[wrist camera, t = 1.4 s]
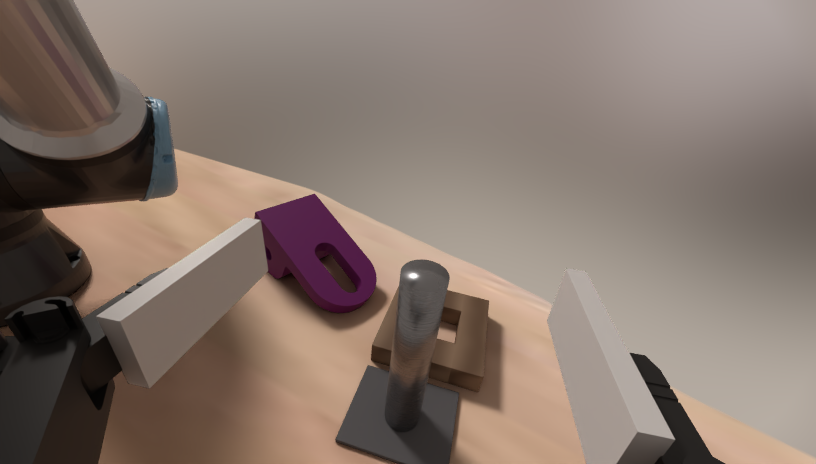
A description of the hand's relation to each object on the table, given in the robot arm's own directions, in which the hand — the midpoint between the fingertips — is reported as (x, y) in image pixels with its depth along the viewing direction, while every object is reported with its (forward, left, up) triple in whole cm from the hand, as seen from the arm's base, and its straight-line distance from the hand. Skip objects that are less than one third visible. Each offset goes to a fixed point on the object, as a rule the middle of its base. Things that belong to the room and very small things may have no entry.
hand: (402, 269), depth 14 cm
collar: (+1, +18, -23) cm, 29 cm away
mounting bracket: (-17, +23, -23) cm, 37 cm away
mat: (0, +7, -23) cm, 24 cm away
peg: (0, +7, -22) cm, 23 cm away
